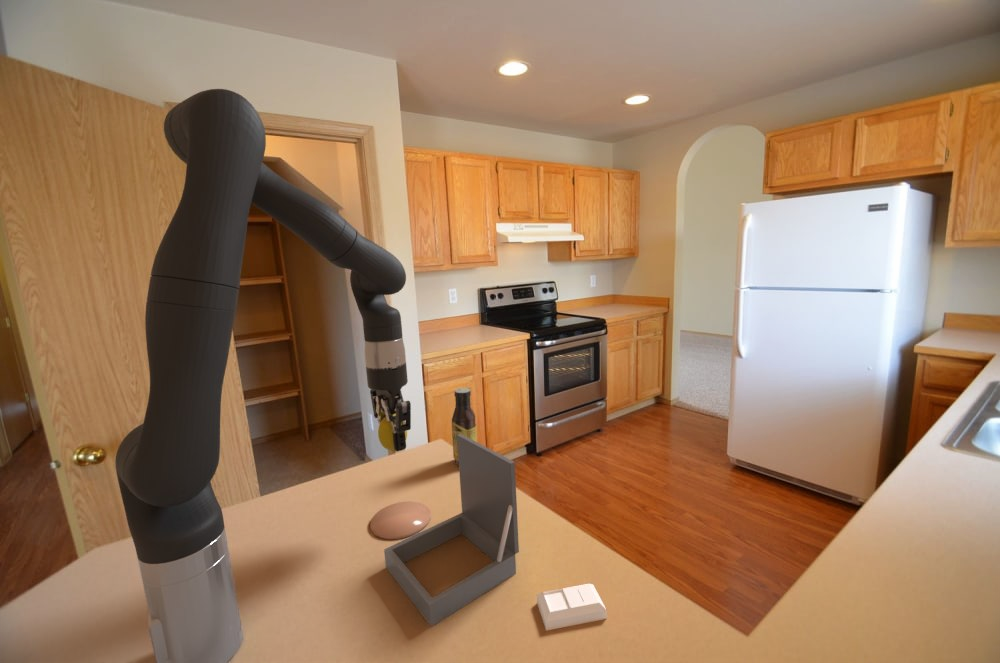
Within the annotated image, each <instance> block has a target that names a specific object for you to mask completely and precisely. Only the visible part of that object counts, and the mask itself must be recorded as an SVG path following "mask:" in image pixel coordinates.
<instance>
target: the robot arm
mask: <svg viewBox="0 0 1000 663" xmlns="http://www.w3.org/2000/svg"><path fill="white" fill-rule="evenodd" d="M163 132H164V137H165V140H166V142H167V144H168V147H170V149H171V151H172V152H173V153H174V154H175V155H176V157H178V158H179V160H181V161H182V162H183V163H185V164H186V169H185V179H184V180H185V181H184V185H183V189H182V194H181V198H180V200H179V203H178V206H177V208H176V210H175V212H174V214H173V216H172V218H171V221H170V223H169V225H168V226H167V229H165V230H166V231H165V233H164V235H163V236H162V239H161V241H160V243H159V246H158V247H157V248H158V249H157V251H156V254H155V256H154V258H153V259H154V260H153V264H152V267H151V272H150V275H151V276H150V278H149V283H148V284H149V285H148V289H147V296H146V304H145V315H144V316H145V320H144V322H145V323H144V324H145V325H144V326H145V328H144V330H145V341H146V342H145V343H146V352H147V360H148V367H149V368H148V369H149V391H148V392H149V394H148V399H147V406H146V410H145V414H144V419H143V423H141V424H139V425H138V426H137V427H135V428H133V429H132V430H131V431H130V432H128V433H127V435H126V436H125V437H124V438H123V440H122V441H121V442H120V444H119V446H118V448H117V451H116V455H115V460H114V461H115V470H116V472H115V473H116V478H117V481H118V482H117V483H118V486H119V491H120V495H121V498H122V504H123V508H124V511H125V516H126V521H127V525H128V528H129V529H128V530H129V533H130V535H131V539H132V542H133V544H134V545H133V546H134V547H135V552H136V556H137V557H136V558H137V561H138V566H139V571H140V576H141V581H142V585H143V590H144V595H145V600H146V606H147V611H148V619H147V620H148V622H147V625H148V626H147V627H148V632H149V636H150V642H151V646H152V652H153V656H154V660H155V663H228V662H229V661H230V660H231V659H232V658H233V657H234V655H235V654H236V653H237V652H238V651H239V648H240V647H241V644H242V641H243V639H244V638H243V637H244V636H243V628H242V620H241V616H240V610H239V604H238V598H237V592H236V585H235V580H234V579H235V578H234V573H233V569H232V564H231V563H232V562H231V556H230V552H229V546H228V538H227V532H226V525H225V520H224V515H223V510H222V507H221V505H220V503H219V500H218V499H217V496H216V495H215V494H216V493H215V491H214V489H213V485H212V483H211V481H212V479H213V478H214V476H215V474H216V472H217V468H218V466H219V462H220V454H221V453H220V452H221V408H222V407H221V405H222V393H223V385H224V379H225V374H226V369H227V365H228V358H229V355H230V348H231V347H230V346H231V341H232V336H233V334H232V333H233V328H234V324H235V323H234V322H235V319H236V318H235V317H236V313H237V307H238V301H239V294H240V287H241V286H240V285H241V275H242V266H243V258H244V254H245V253H244V252H245V247H246V246H245V245H246V238H247V230H248V229H247V228H248V222H249V215H250V210H251V209H250V208H251V205H253V206H255V207H256V208H257V209H259V210H261V211H262V212H263V213H265V214H267V215H268V216H269V217H271V218H272V219H274V220H275V221H277V222H278V223H279V224H281V225H282V226H283V227H285V228H287V230H289V231H291V232H292V233H293V234H294V235H296V236H297V237H298V238H300V239H301V240H302V241H303V242H305V243H306V244H307V245H308V246H310V247H311V248H312V249H313V250H315V251H316V252H317V253H318V254H320V255H321V256H322V257H323V258H325V259H326V260H327V261H328V262H329V263H331V264H333V265H334V266H335V267H338V268H341V269H346V270H350V276H349V281H350V282H349V283H350V287H351V291H352V294H353V297H354V300H355V303H356V305H357V309H358V311H359V314H360V316H361V318H362V327H363V339H364V361H365V362H364V364H365V371H366V383H367V387H368V388H369V389H370V390H369V391H370V392H369V393H370V399H371V405H372V411H373V416H374V419H377V423H378V424H380V422H381V420H382V419H383V418H384V417H385V416H386V418H387V421H388V422H390V423H391V427H392V431H393V443H394V450H395V451H396V452H400V451H404V450H406V448H407V438H406V439H405V431H407V432H408V431H410V430H411V429H412V428H411V426H412V424H411V423H412V422H411V421H412V420H411V419H412V414H411V413H412V412H411V411H412V410H411V409H412V406H411V401H410V400H404V398H403V394H402V388H403V387H404V386H407V384H408V381H409V380H408V370H407V359H406V348H405V343H404V338H403V337H404V336H403V328H402V326H403V325H402V317H401V316H402V315H401V313H400V311H399V310H398V308H395V307H393V306H390V305H389V304H388V302H387V299H386V296H389V295H395V294H396V293H399V292H400V291H402V289H403V288H404V287H405V285H406V281H407V274H406V270H405V268H404V266H403V264H402V263H401V261H400V260H399V259H398V258H397V256H395V255H394V254H393V253H391V252H390V251H388V250H387V249H385V248H383V247H382V246H380V245H379V244H378V243H376V242H375V241H372V240H370V239H369V238H366V237H364V236H363V235H362V234H361V233H360V232H359V231H358V230H357V229H356V228H355V227H354V226H353V225H352V224H350V223H349V222H348V221H347V220H346V219H345V218H344V217H343V216H342V215H341V214H339V213H338V212H337V211H336V210H335V209H333V208H332V207H331V206H330V205H328V204H326V203H325V202H323V201H322V200H320V199H318V198H317V197H314V196H313V195H311V194H310V193H308V192H307V191H304V190H303V189H301V188H299V187H297V185H294V184H292V183H290V182H289V181H287V180H286V179H284V178H283V177H281V176H280V175H279V174H277V173H276V172H275V171H273V170H272V169H271V168H270V167H269V166H267V165H266V164H265V163H264V162H263V161H264V157H265V151H266V146H267V141H266V140H267V139H266V138H267V137H266V130H265V126H264V124H263V121H262V118H261V116H260V114H259V113H258V110H256V108H255V107H254V106H253V104H252V103H251V102H250V101H248V100H247V98H245V97H244V96H243V95H241V94H239V93H238V92H235V91H233V90H230V89H226V88H211V89H210V88H209V89H206V90H202V91H199V92H197V93H194V94H192V95H191V96H189V97H188V98H186V99H184V100H182V101H181V102H179V103H178V104H176V105H175V106H174V107H172V108H171V109H170V110H169V111H168V112H167V114H166V115H165V118H164V122H163ZM393 414H395V415H396V416H391V415H393ZM395 420H396V424H395Z"/></svg>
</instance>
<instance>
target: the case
mask: <svg viewBox="0 0 1000 663" xmlns="http://www.w3.org/2000/svg"><path fill="white" fill-rule="evenodd" d="M457 444H458V459H459V466H458V471H459V472H458V473H459V485H460V499H461V513H459V514H456V515H454V516H452V517H449V518H447V519H445V520H443V521H441V522H439V523H437V524H435V525H433V526H431V527H429V528H427V529H424V530H423V531H422V530H421V531H420V532H418V533H416V534H414V535H412V536H409V537H406V538H404V539H403V540H401V541H399V542H397V543H395V544H392V545H391V546H388V547H386V548H384V549H383V550H384V551H383V552H384V561H385V568H386V570H387V571H388V572H389V574H390V575H391V576H392V577H393V579H394V580H395V582H396V583H397V584H398V585H399V586H400V588H401V589H402V591H403V592H404V593H405V594H406V596H407V597H408V599H409V600H410V601H411V603H412V604H413V605H414V606H415V607H416V609H417V610H418V612H419V613H420V615H421V616H422V617H423V619H425V621H426V622H427V623H428V625H429V626H430V627H431V628H432V627H433V626H435V625H437V624H439V623H440V622H442V621H443V620H445V619H446V618H449V616H452V615H453V614H454V613H456V612H458V611H459V610H461V609H462V608H464V607H465V606H467V605H468V604H471V603H472V602H474V601H475V600H476V599H478V598H479V597H480V596H483V595H484V594H486V593H487V592H489V591H490V590H492V589H493V588H495V587H497V586H498V585H499V584H501V583H503V582H505V581H506V580H508V579H510V578H511V577H513V576H514V575H516V574H517V564H516V561H517V560H516V555H517V554H518V553H519V552H520V548H519V547H520V546H519V544H520V543H519V528H518V527H519V526H518V525H519V524H518V522H519V521H518V503H517V480H516V478H517V477H516V463H515V460H512V459H509V458H507V457H505V456H504V455H502V454H501V453H498V452H496V451H494V450H493V449H490V448H489V447H487V446H485V445H483V444H481V443H479V442H478V441H477V442H475V441H473V440H472V439H470V438H468V437H466V436H464V435H462V434H458V435H457ZM461 534H462V535H463V536H464V537H465V538H467V539H468V540H469V541H470V542H471V543H472V544H473V545H475V547H477V548H478V549H479V550H480V551H481V552H482V553H484V554H485V555H486V556H487V557H489V558H490V559H491V560H492V562H491V563H489V564H487V565H486V566H484V567H482V568H481V569H478V570H477V571H475V572H473V573H472V574H470V575H469V576H467V577H465V578H464V579H462V580H460V581H458V582H457V583H455V584H454V585H451V586H450V587H448V588H446V589H444V590H443V591H441V592H440V593H438V594H436V595H435V596H433V597H432V595H430V593H429V592H428V591H427V589H425V588H424V586H423V585H422V584H421V582H420V581H419V580H418V579H417V578H416V577H415V575H414V574H413V573H412V571H410V570H409V568H408V566H406V565H405V563H407V562H408V561H411V560H413V559H414V558H417V557H418V556H420V555H422V554H424V553H426V552H428V551H430V550H432V549H435V548H436V547H438V546H440V545H442V544H444V543H446V542H448V541H450V540H452V539H454V538H456V537H457V536H460V535H461Z"/></svg>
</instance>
